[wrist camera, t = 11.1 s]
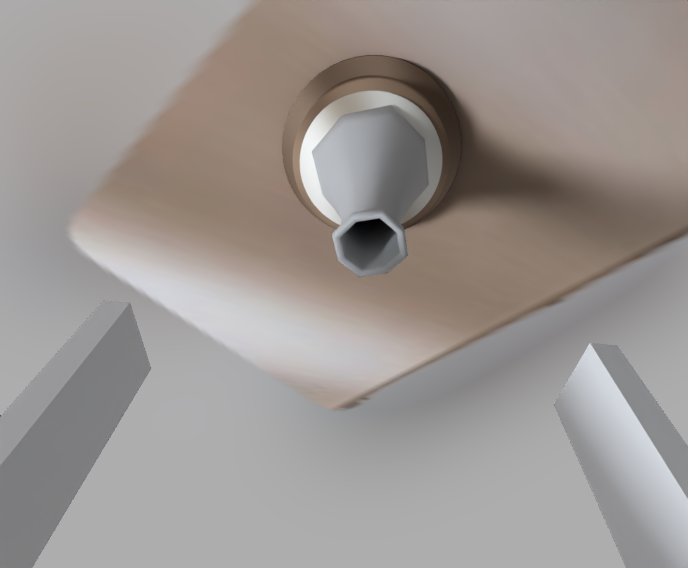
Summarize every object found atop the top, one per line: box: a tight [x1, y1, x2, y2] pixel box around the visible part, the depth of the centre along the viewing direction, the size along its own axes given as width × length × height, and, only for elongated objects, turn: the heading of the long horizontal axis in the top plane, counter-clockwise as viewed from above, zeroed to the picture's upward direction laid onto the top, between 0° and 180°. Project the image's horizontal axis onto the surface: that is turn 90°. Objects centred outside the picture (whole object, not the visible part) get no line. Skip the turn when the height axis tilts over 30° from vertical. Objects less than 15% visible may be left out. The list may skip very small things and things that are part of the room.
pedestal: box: [282, 55, 461, 229], centre depth 26 cm, size 12×12×3 cm
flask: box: [312, 105, 429, 277], centre depth 21 cm, size 7×7×10 cm
